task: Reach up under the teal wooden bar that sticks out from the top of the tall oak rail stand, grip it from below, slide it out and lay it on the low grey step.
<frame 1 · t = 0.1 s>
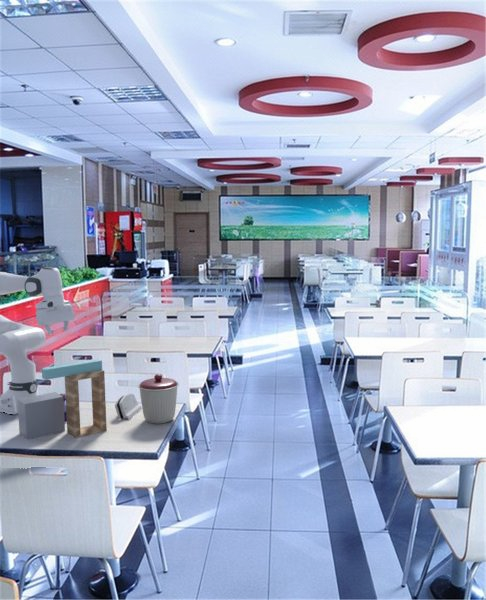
hand: (58, 332, 251), 39 cm above the table, tool pointing down, fingers open, 8 cm apart
canister: (159, 420, 248), on the table
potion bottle: (62, 420, 249), on the table
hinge: (128, 414, 257), on the table
rail stand: (87, 431, 233), on the table
low step: (42, 432, 233), on the table
teal bar: (73, 373, 227), point 26 cm above the table, touching rail stand
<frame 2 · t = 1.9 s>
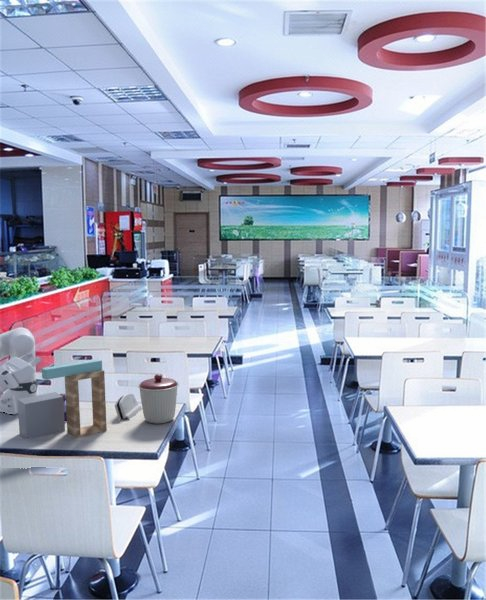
hand: (35, 356, 218), 35 cm above the table, tool pointing upward, fingers open, 8 cm apart
nothing on the table moved.
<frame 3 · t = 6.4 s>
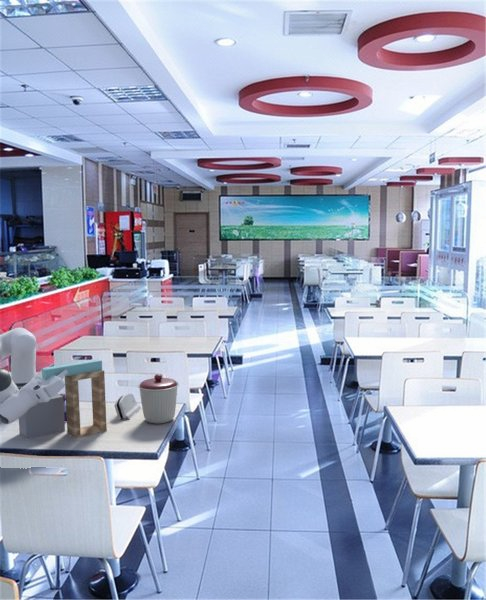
hand: (63, 369, 225), 28 cm above the table, tool pointing upward, fingers closed on teal bar, 4 cm apart
teal bar: (73, 373, 227), point 26 cm above the table, touching gripper, rail stand
everything else where it was.
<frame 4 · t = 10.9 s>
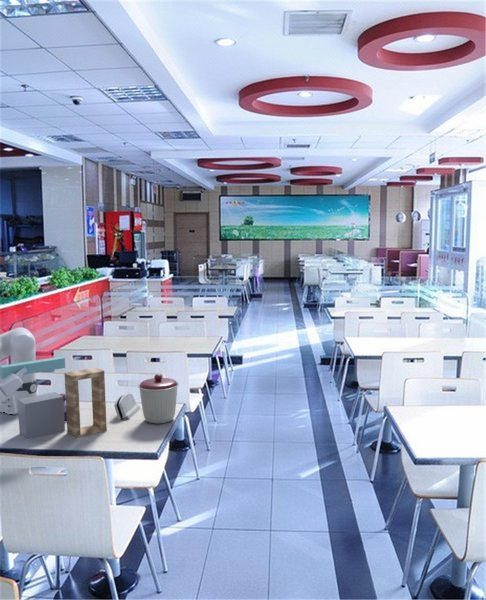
hand: (23, 367, 214), 32 cm above the table, tool pointing upward, fingers closed on teal bar, 4 cm apart
teal bar: (33, 371, 217), point 29 cm above the table, touching gripper
everything else where it was.
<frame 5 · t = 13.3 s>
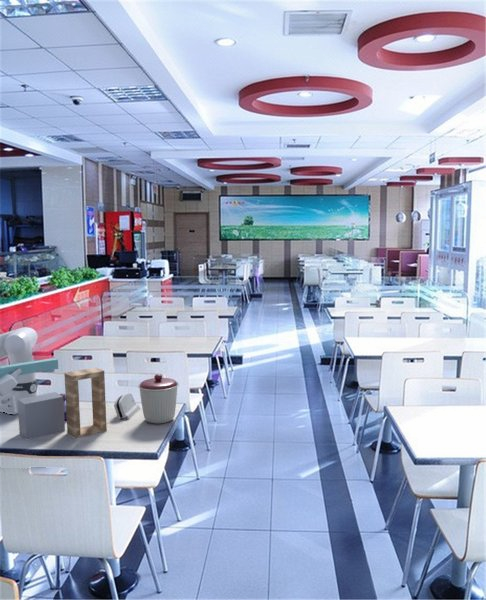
hand: (18, 368, 224), 29 cm above the table, tool pointing upward, fingers closed on teal bar, 4 cm apart
teal bar: (27, 372, 227), point 27 cm above the table, touching gripper
everything else where it was.
when the fingers open (18 cm above the table, at t = 15.4 s): teal bar stays where it is, resting on low step.
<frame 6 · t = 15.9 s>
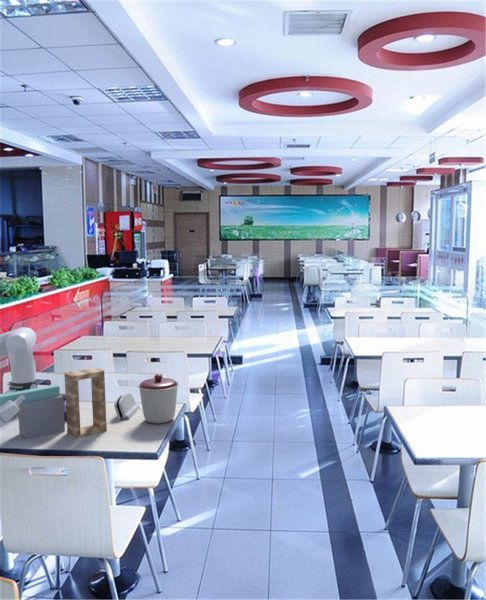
hand: (20, 393, 226), 18 cm above the table, tool pointing upward, fingers open, 8 cm apart
teal bar: (29, 400, 229), point 15 cm above the table, touching low step
everything else where it was.
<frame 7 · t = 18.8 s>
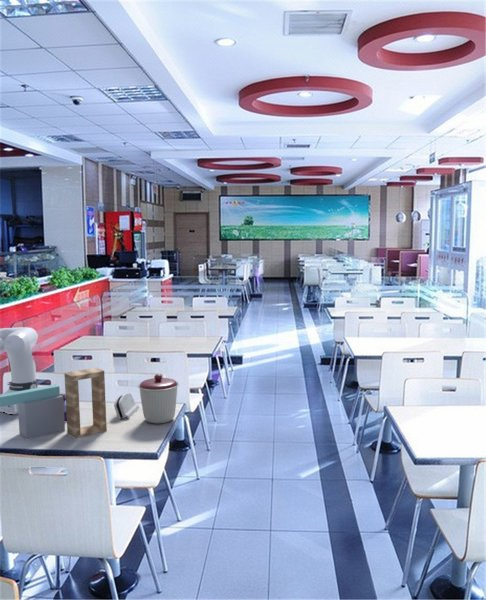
hand: (7, 341, 222), 40 cm above the table, tool horizontal, fingers open, 8 cm apart
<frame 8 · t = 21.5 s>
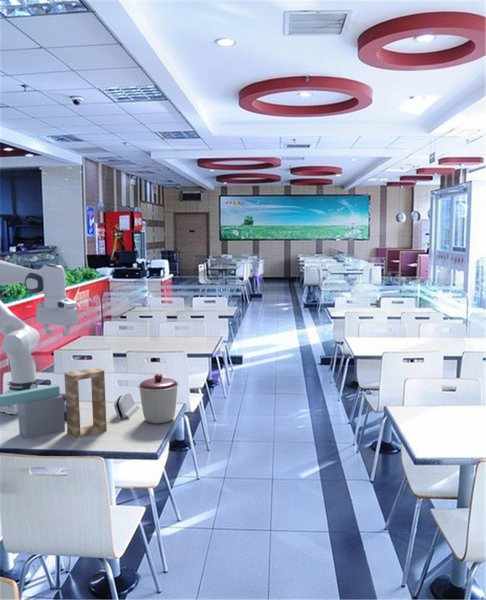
hand: (57, 334, 233), 41 cm above the table, tool pointing down, fingers open, 8 cm apart
at the end: teal bar inside the target area on the low step (4.5 cm from its centre), point 15.0 cm above the low step's base; teal bar touching low step; the gripper is holding nothing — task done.
